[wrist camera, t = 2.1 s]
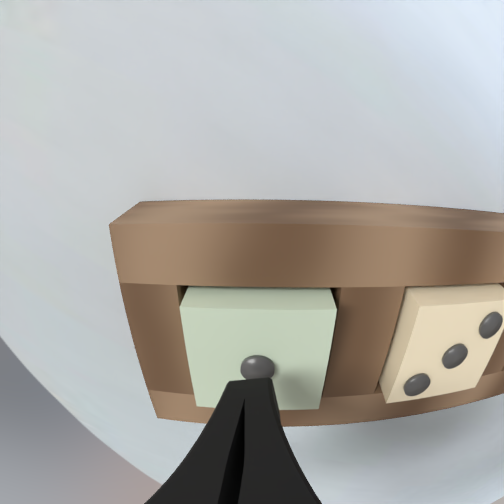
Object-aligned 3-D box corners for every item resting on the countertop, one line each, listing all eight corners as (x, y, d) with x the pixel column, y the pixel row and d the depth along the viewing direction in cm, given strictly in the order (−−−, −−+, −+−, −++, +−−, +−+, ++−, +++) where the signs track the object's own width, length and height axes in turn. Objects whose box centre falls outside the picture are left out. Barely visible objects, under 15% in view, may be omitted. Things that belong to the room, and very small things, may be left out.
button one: (323, 270, 12) (338, 313, 10) (312, 364, 14) (318, 412, 12) (196, 268, 13) (178, 310, 10) (206, 362, 15) (195, 409, 12)
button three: (483, 269, 12) (517, 301, 9) (453, 352, 14) (476, 389, 11) (393, 270, 12) (421, 309, 9) (371, 361, 14) (387, 406, 11)
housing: (581, 224, 12) (609, 241, 9) (536, 350, 15) (555, 374, 13) (140, 201, 13) (108, 224, 10) (170, 378, 17) (157, 417, 14)
